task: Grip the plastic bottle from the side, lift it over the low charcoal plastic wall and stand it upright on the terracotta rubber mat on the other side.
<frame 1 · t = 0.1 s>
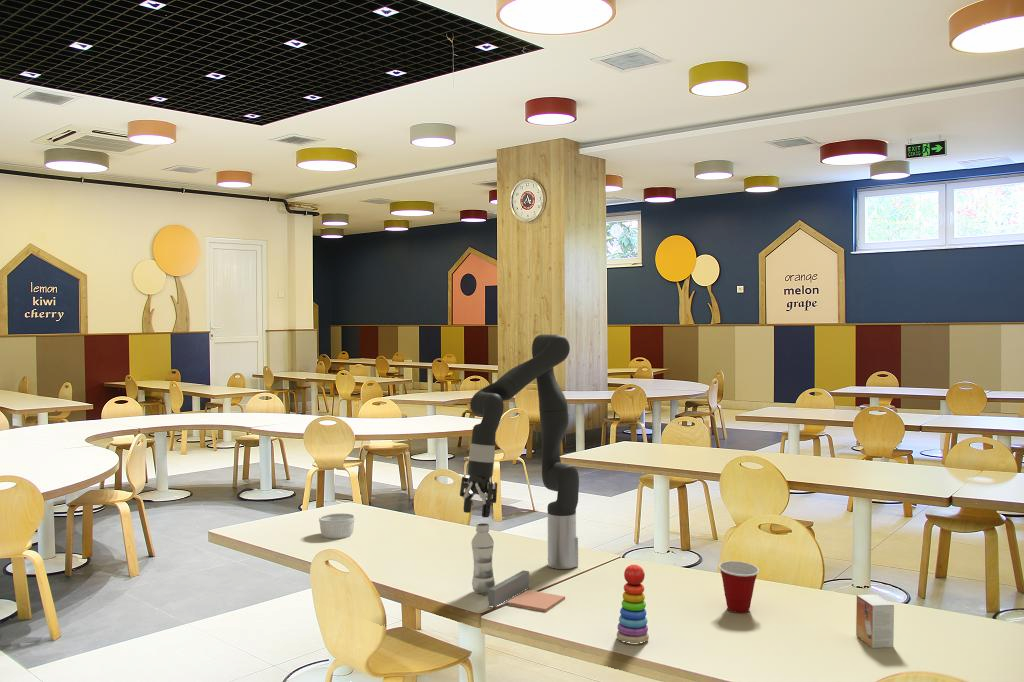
hand: (476, 514, 248), 22 cm above the table, tool pointing down, fingers open, 8 cm apart
small box: (874, 642, 207), on the table
ramekin: (337, 535, 315), on the table
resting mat: (536, 602, 238), on the table
low wall: (509, 597, 242), on the table
stacking toy: (632, 640, 210), on the table
plastic cup: (738, 610, 230), on the table
plastic bottle: (483, 593, 247), on the table
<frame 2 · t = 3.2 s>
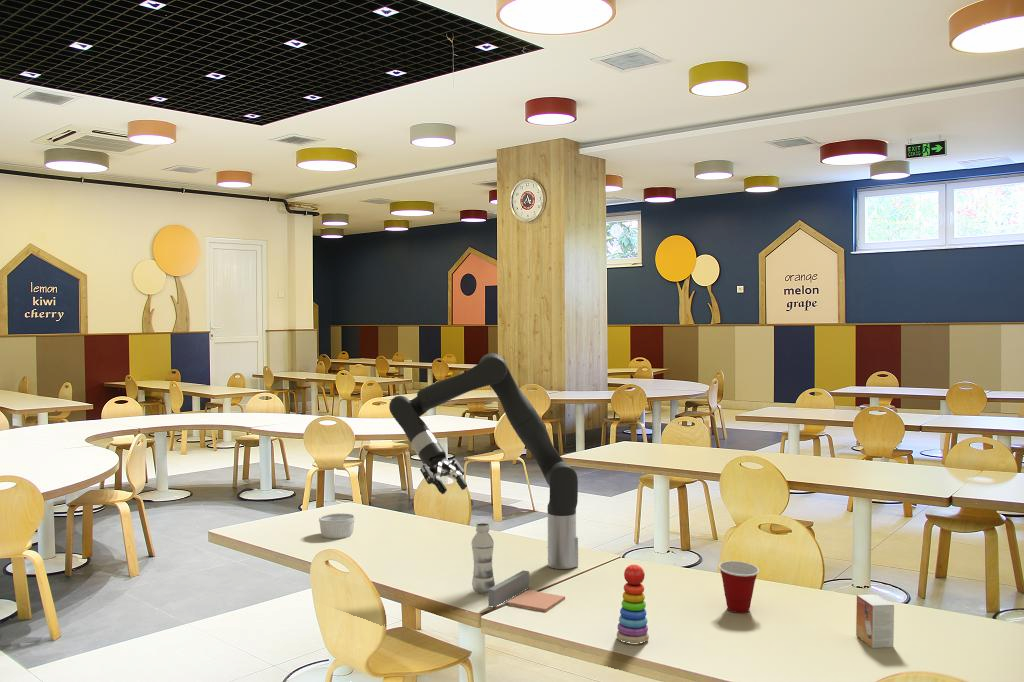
hand: (455, 490, 253), 29 cm above the table, tool tilted 45°, fingers open, 8 cm apart
nothing on the table moved.
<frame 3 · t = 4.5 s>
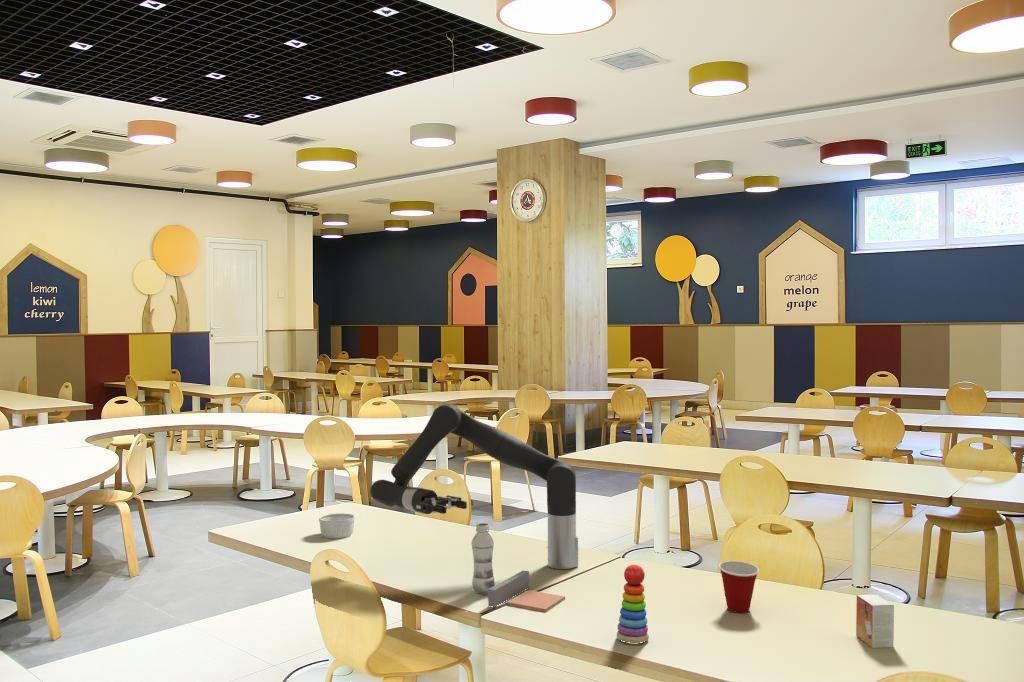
hand: (455, 507, 253), 23 cm above the table, tool horizontal, fingers open, 8 cm apart
nothing on the table moved.
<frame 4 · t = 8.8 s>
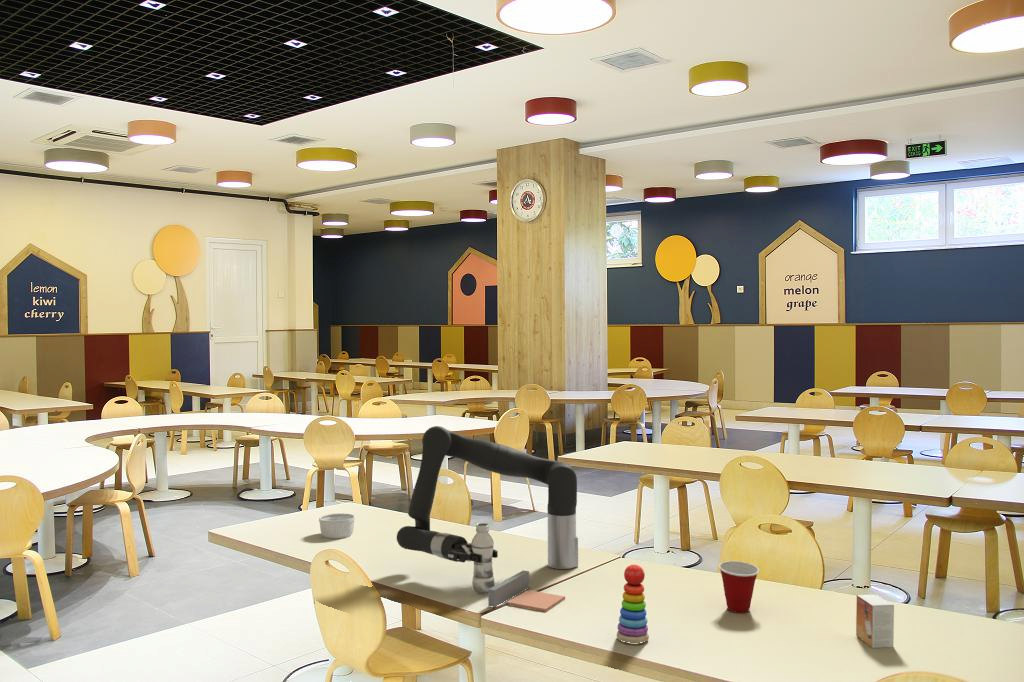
hand: (488, 556, 245), 11 cm above the table, tool horizontal, fingers closed on plastic bottle, 6 cm apart
plastic bottle: (483, 593, 247), on the table, touching gripper
everything else where it was.
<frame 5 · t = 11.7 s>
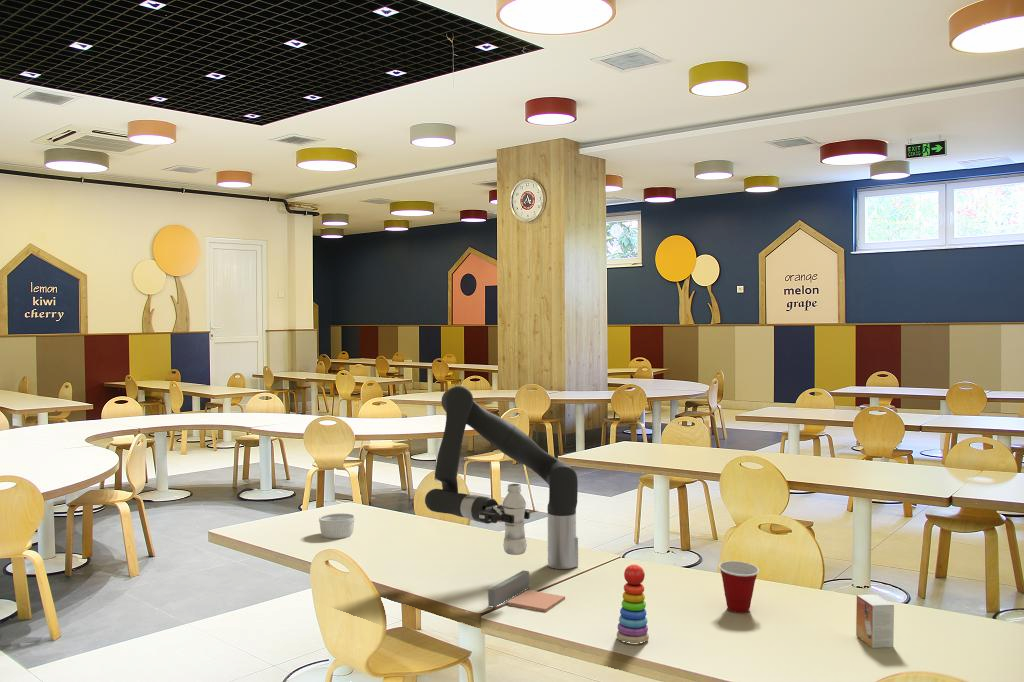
hand: (521, 517, 239), 24 cm above the table, tool horizontal, fingers closed on plastic bottle, 6 cm apart
plastic bottle: (514, 554, 241), point 12 cm above the table, touching gripper
everything else where it was.
when the fingers open (13 cm above the table, at t = 14.9 s): plastic bottle stays where it is, resting on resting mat.
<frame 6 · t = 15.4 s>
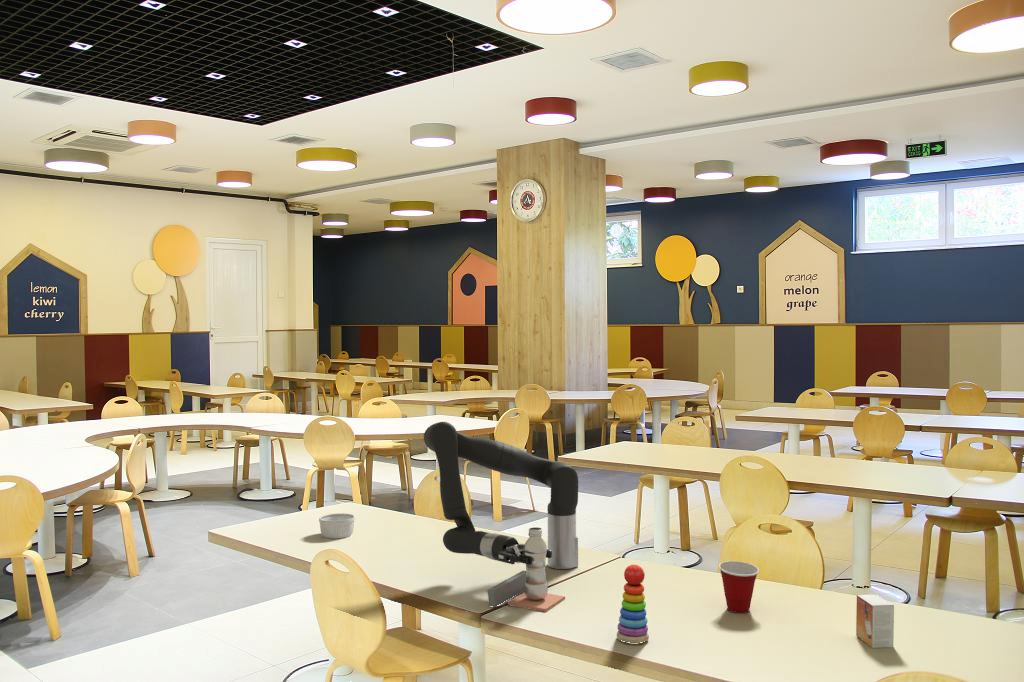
hand: (541, 557, 236), 13 cm above the table, tool horizontal, fingers open, 8 cm apart
plastic bottle: (535, 599, 238), point 1 cm above the table, touching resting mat
everything else where it was.
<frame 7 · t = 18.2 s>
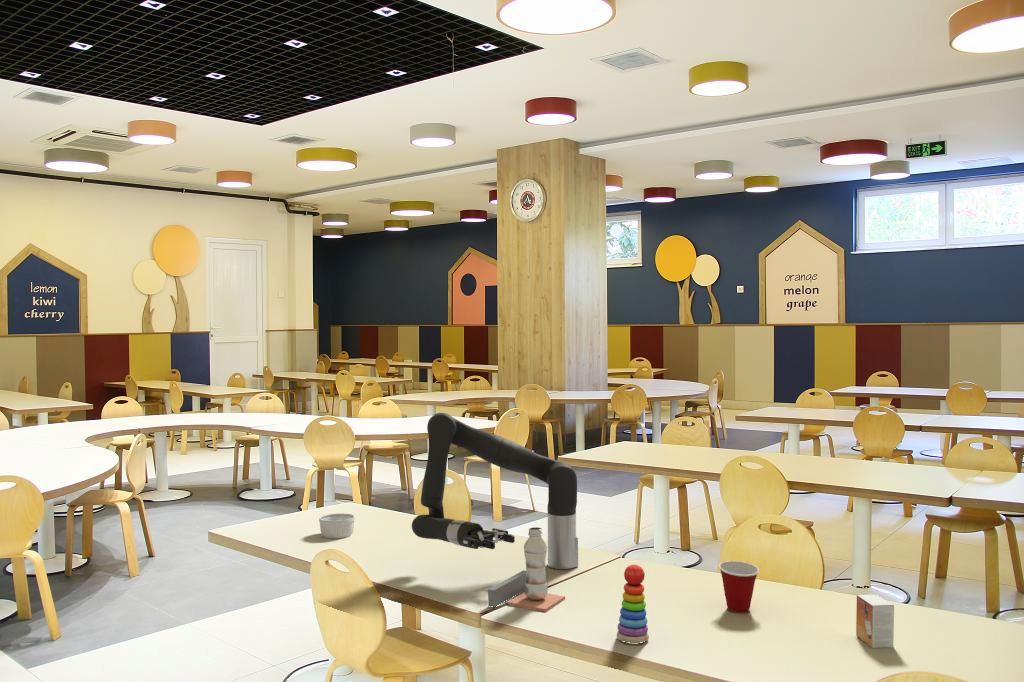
hand: (504, 542, 246), 15 cm above the table, tool horizontal, fingers open, 8 cm apart
nothing on the table moved.
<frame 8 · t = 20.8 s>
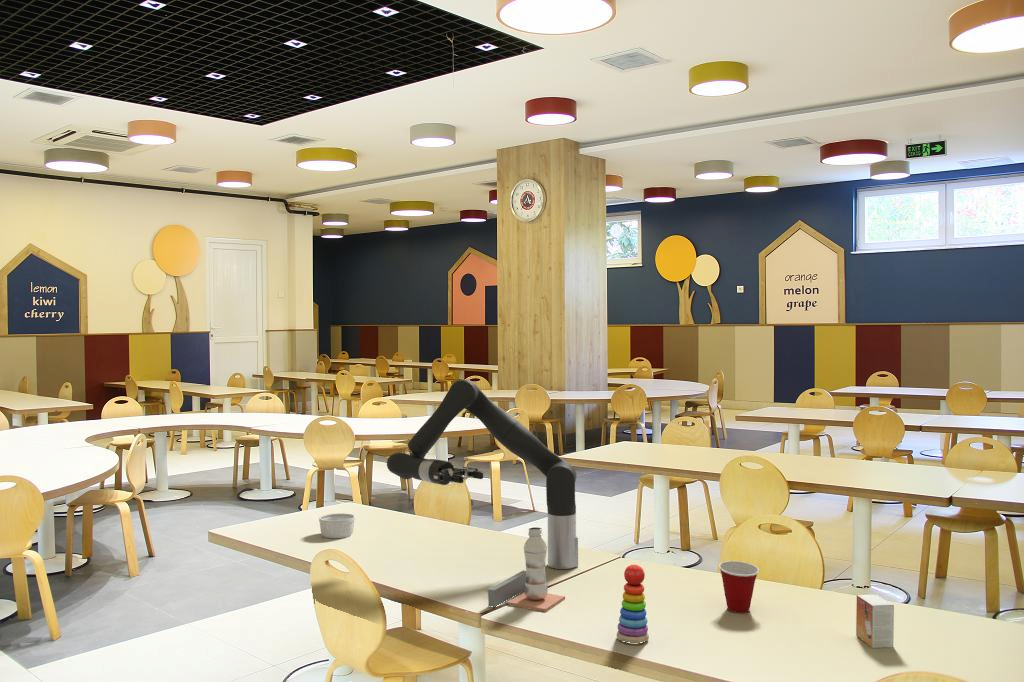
hand: (472, 477, 256), 32 cm above the table, tool horizontal, fingers open, 8 cm apart
nothing on the table moved.
at the end: plastic bottle 0.2 cm from the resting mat (horizontally); plastic bottle tilted 0°; the gripper is holding nothing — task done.
